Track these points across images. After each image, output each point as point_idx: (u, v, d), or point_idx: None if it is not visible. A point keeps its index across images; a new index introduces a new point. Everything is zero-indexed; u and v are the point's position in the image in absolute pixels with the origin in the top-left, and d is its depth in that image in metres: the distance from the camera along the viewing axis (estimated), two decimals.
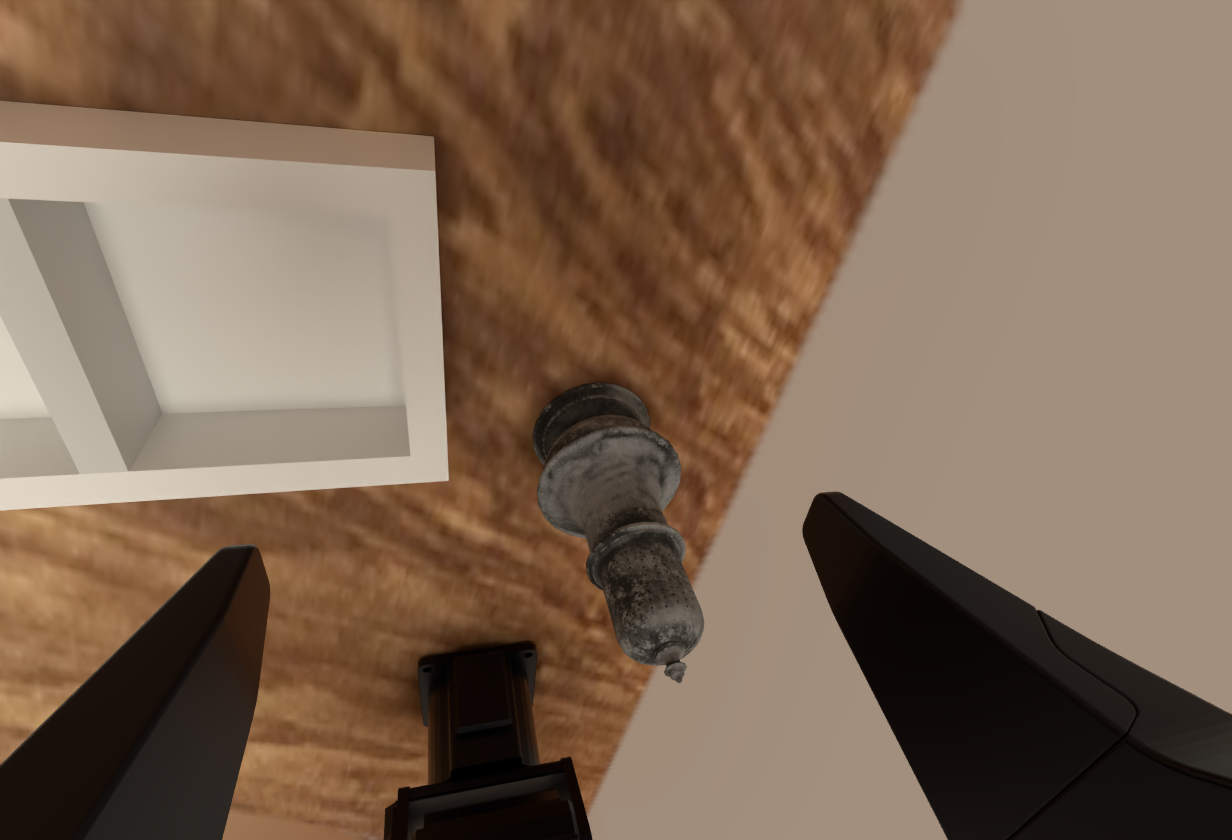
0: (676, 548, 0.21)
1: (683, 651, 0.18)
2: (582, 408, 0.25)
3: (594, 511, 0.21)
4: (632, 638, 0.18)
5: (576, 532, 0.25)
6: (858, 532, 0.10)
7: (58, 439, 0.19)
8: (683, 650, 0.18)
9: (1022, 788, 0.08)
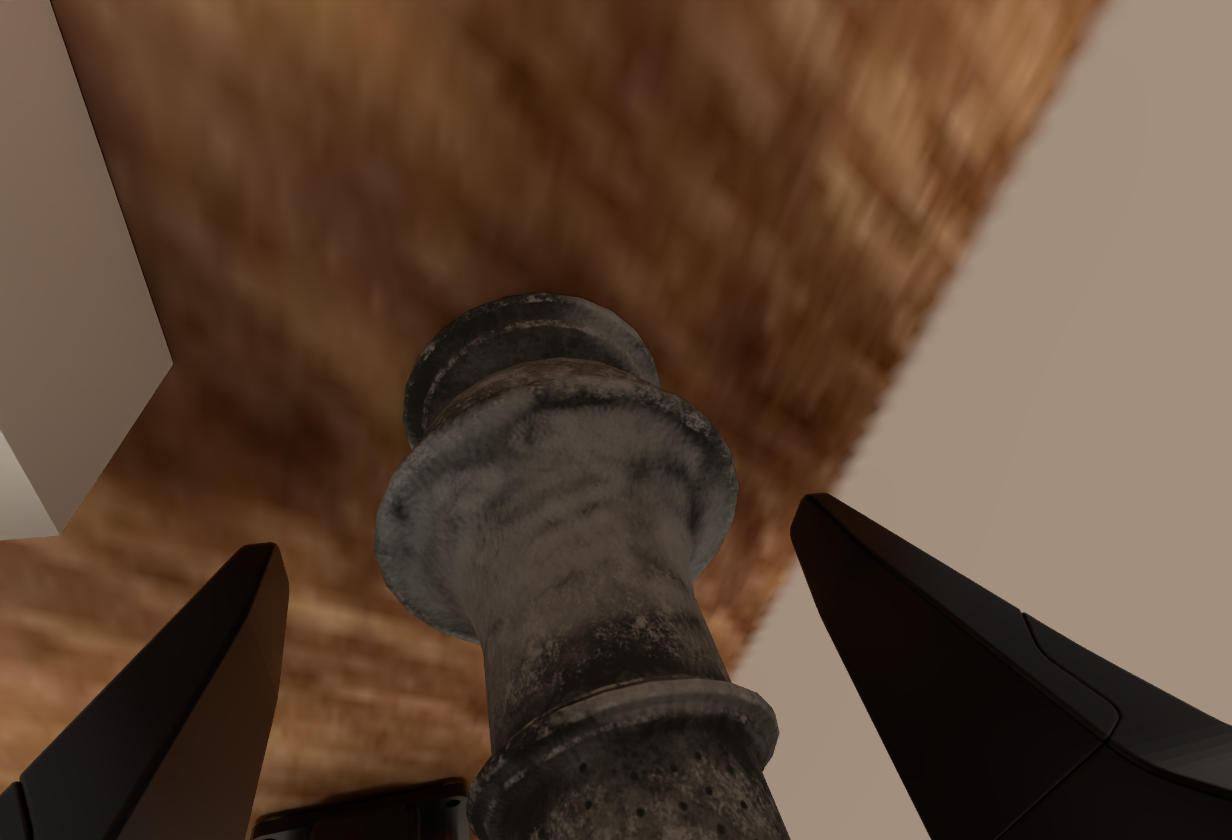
0: (754, 749, 0.07)
1: None
2: (505, 352, 0.11)
3: (505, 623, 0.07)
4: None
5: None
6: (844, 533, 0.10)
7: None
8: None
9: (1007, 793, 0.08)
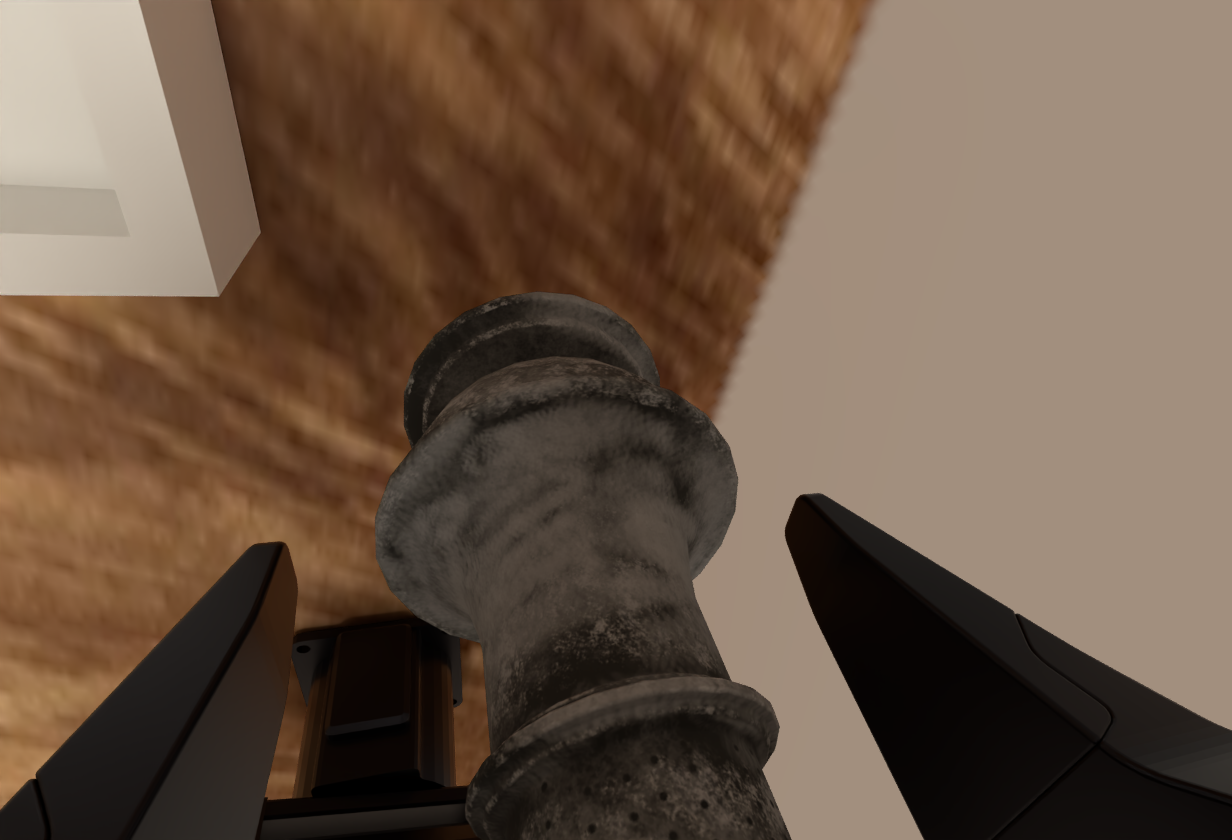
0: (737, 734, 0.06)
1: None
2: (478, 367, 0.11)
3: (488, 645, 0.07)
4: None
5: None
6: (838, 534, 0.10)
7: None
8: None
9: (999, 795, 0.08)
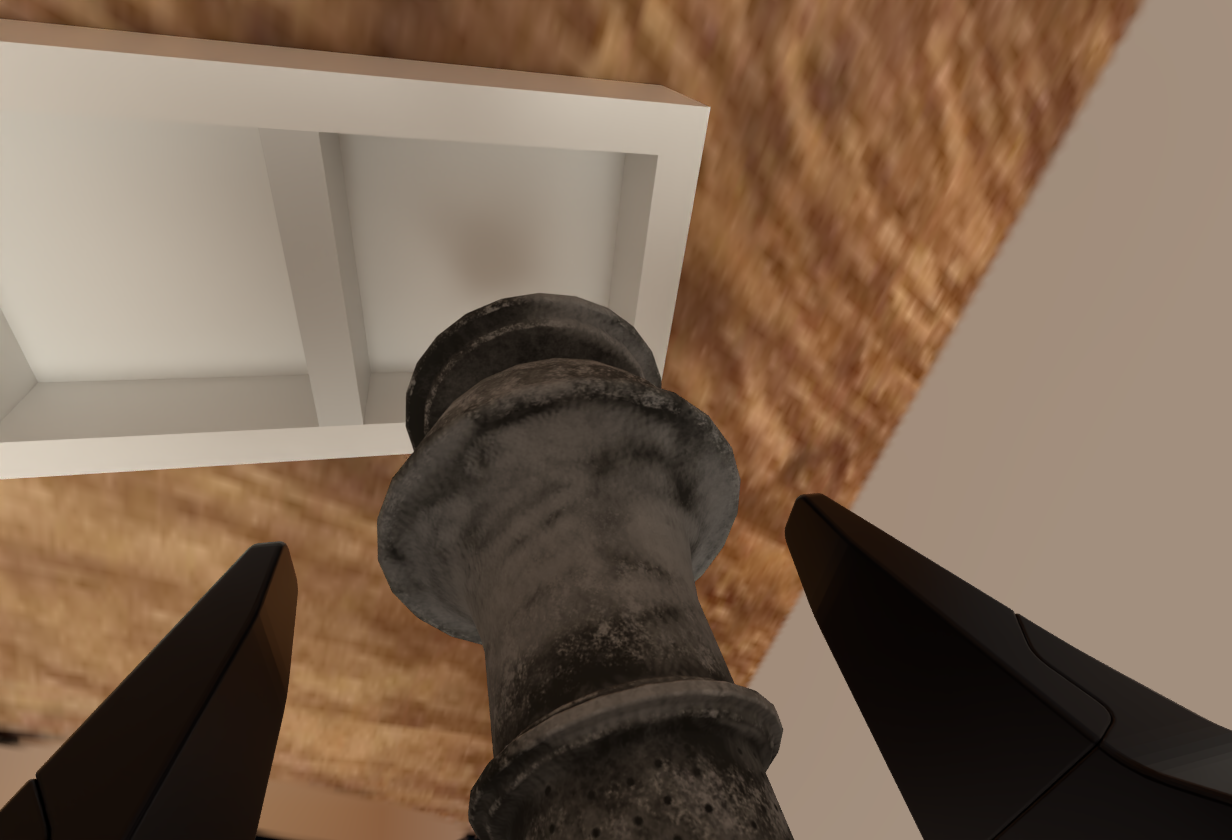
0: (742, 737, 0.06)
1: None
2: (480, 367, 0.11)
3: (491, 647, 0.07)
4: None
5: None
6: (838, 534, 0.10)
7: (284, 395, 0.19)
8: None
9: (1000, 795, 0.08)
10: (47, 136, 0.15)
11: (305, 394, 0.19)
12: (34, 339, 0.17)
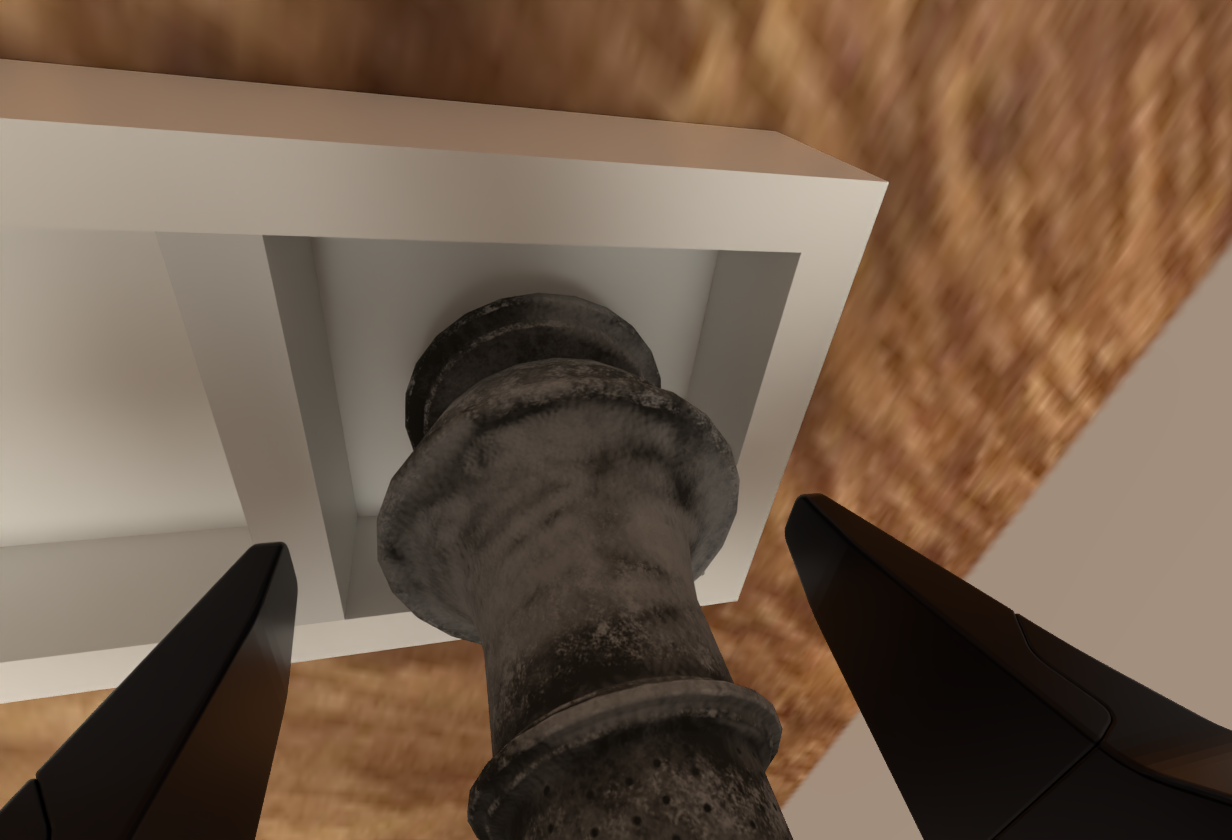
0: (741, 737, 0.06)
1: None
2: (479, 368, 0.11)
3: (490, 647, 0.07)
4: None
5: None
6: (838, 534, 0.10)
7: None
8: None
9: (999, 793, 0.08)
10: None
11: None
12: None
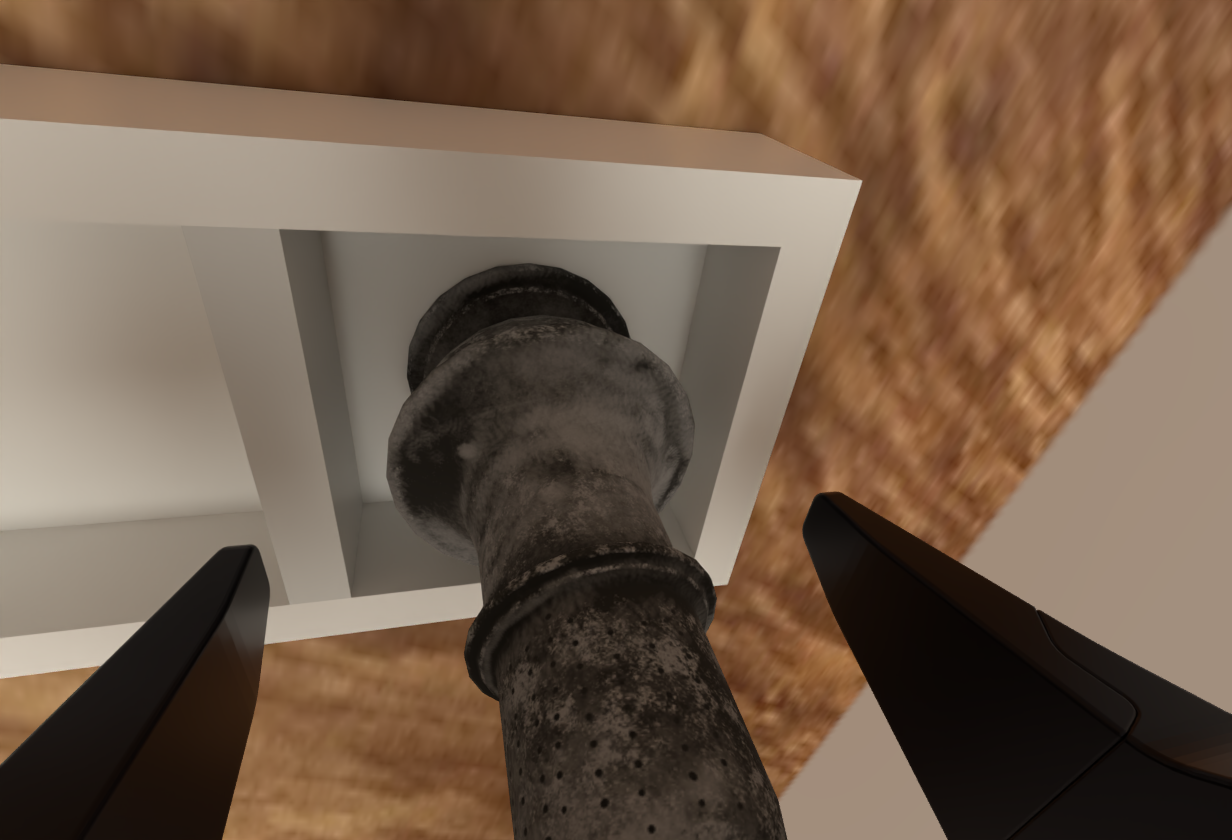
0: None
1: None
2: None
3: (647, 497, 0.10)
4: None
5: (442, 396, 0.10)
6: (858, 532, 0.10)
7: None
8: None
9: (1022, 788, 0.08)
10: None
11: None
12: None
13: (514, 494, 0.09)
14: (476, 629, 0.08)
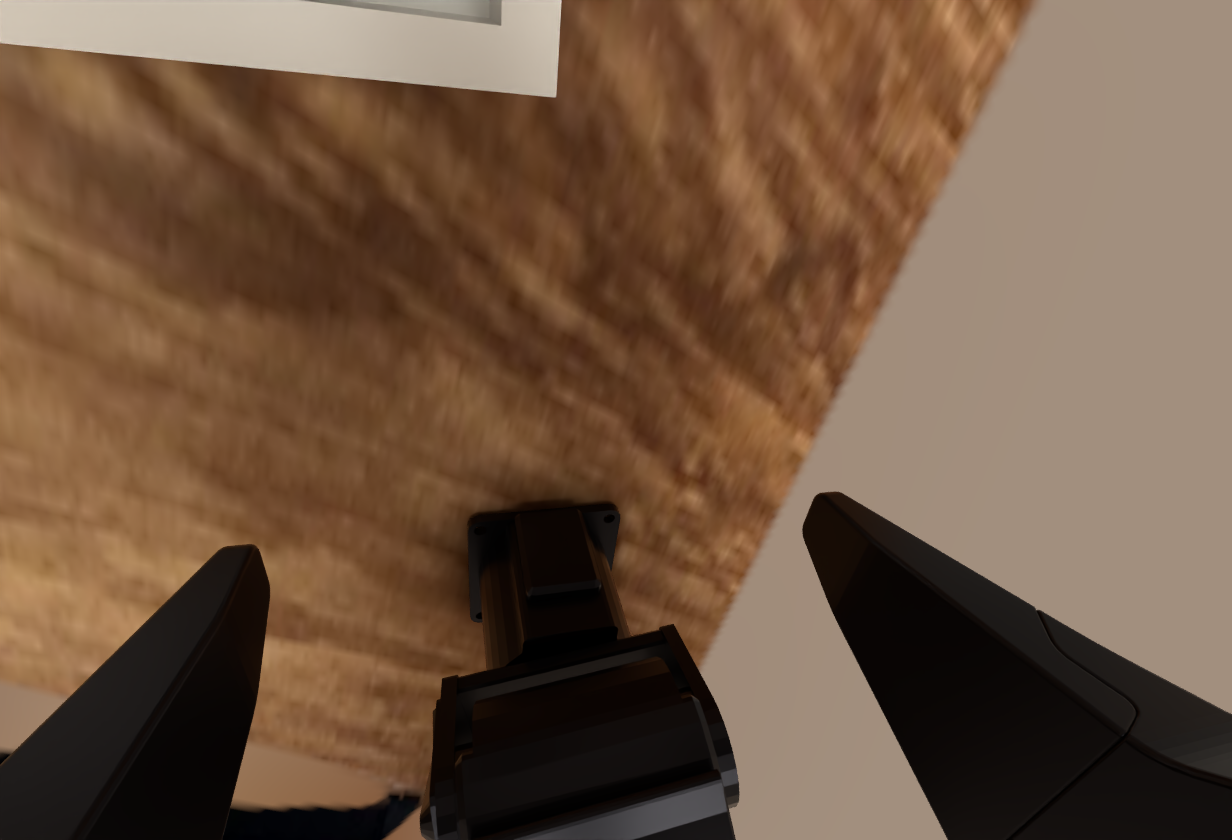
0: None
1: None
2: None
3: None
4: None
5: None
6: (858, 532, 0.10)
7: None
8: None
9: (1022, 788, 0.08)
10: None
11: None
12: None
13: None
14: None
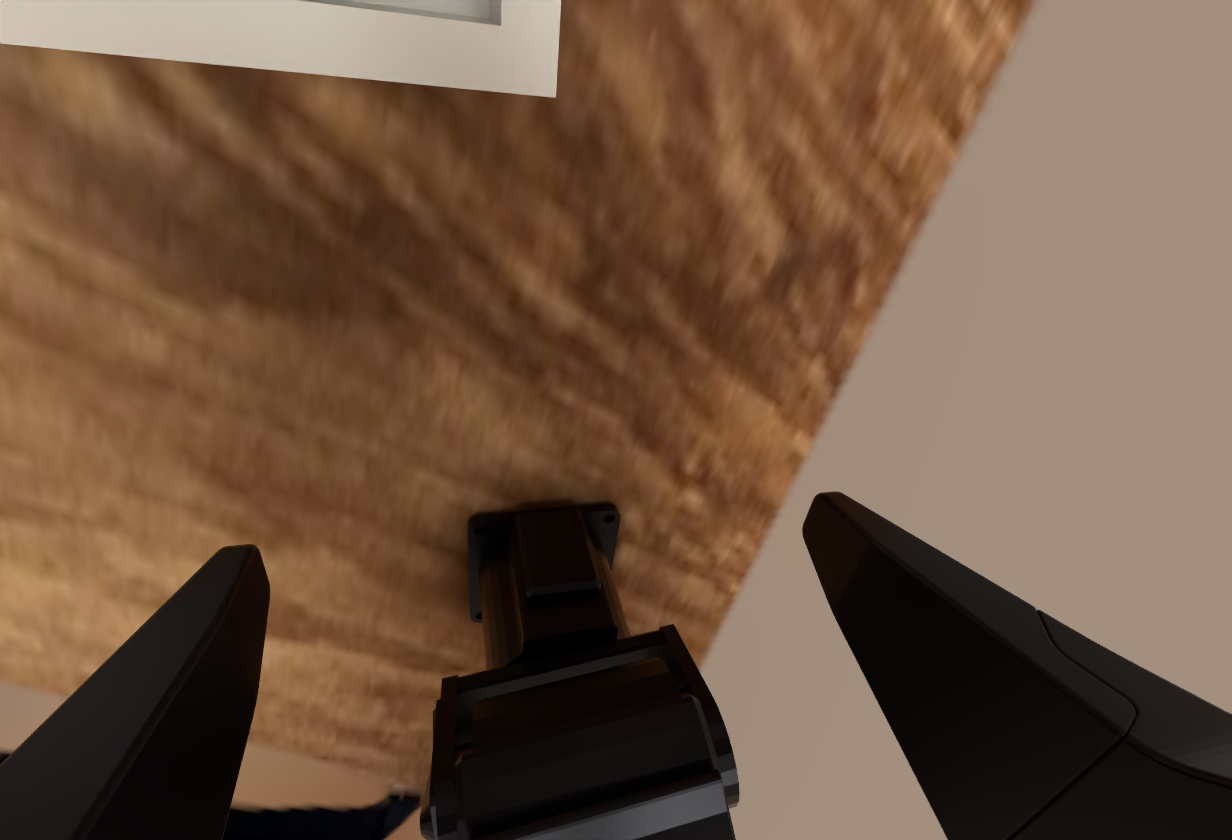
0: None
1: None
2: None
3: None
4: None
5: None
6: (858, 532, 0.10)
7: None
8: None
9: (1023, 788, 0.08)
10: None
11: None
12: None
13: None
14: None
